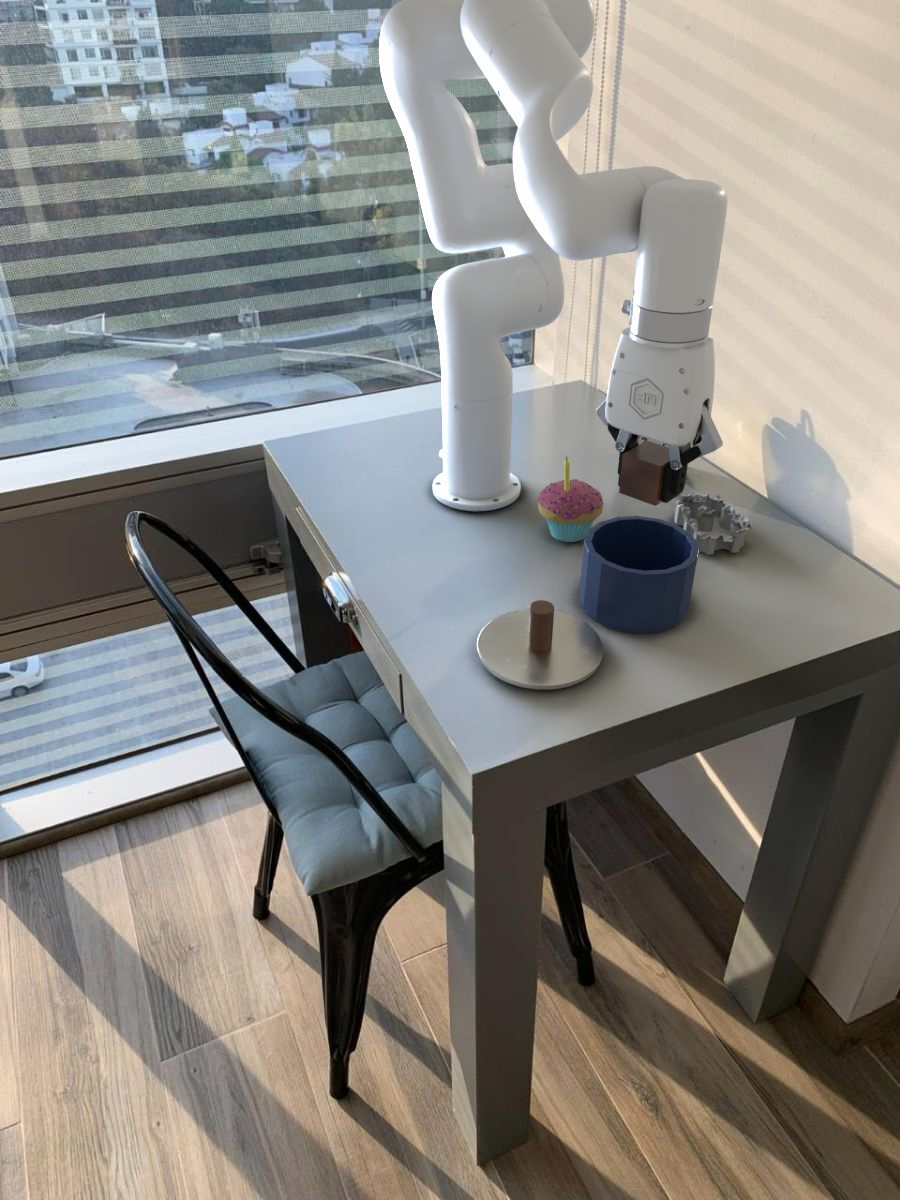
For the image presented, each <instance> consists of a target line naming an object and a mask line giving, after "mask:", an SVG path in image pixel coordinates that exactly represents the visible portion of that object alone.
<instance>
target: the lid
mask: <svg viewBox="0 0 900 1200" xmlns="http://www.w3.org/2000/svg"><path fill="white" fill-rule="evenodd" d="M476 652H477V656H478V659H479V661H480V663H481V664H482V666H483V667H484V668H485V669H486V670H487V671H488V672H489V673H490V674H491V675H493V676H494V677H496V678H497V679H499V680H501V681H503V682H505V683H507V684H510V685H513V686H515V687H520V688H524V689H530V690H538V691H539V690H540V691H543V690H544V691H547V690H558V689H564V688H568V687H572V686H574V685H577V684H580V683H582V682H583V681H585V680H587V679H589V678H590V677H591V676H592V675H594V673H595V672H596V671H597V670H598V669H599V667H600V665H601V663H602V660H603V655H604V646H603V642H602V640H601V637H600V635H599V634H598V633H597V631H596V630H595V629H594V628H593V627H592V626H591V625H590V624H589V623H587V622H586V621H584V620H582V619H581V618H579V617H577V616H574V615H572V614H569V613H567V612H564V611H561V610H560V611H559V610H555V606H554V604H553V603H552V602H550V601H549V600H543V599H539V600H534V601H533V602H531V603H530V605H529V608H524V609H517V610H512V611H508V612H506V613H504V614H501V615H498V616H496V617H495V618H493V619H491V620H490V621H489V622H487V624H485V625H484V627H483V628H482V629H481V631H480V633H479V635H478V637H477V641H476Z"/></svg>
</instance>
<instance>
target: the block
mask: <svg viewBox="0 0 900 1200" xmlns="http://www.w3.org/2000/svg"><path fill="white" fill-rule="evenodd" d="M668 466H670V459H669V449H668V446H666V445H663V444H659V443H657V442H653V441H650V440H645V441H643V442H641V443H640V444H639V445H638V446H636V447H634V448H633V449H631V450H629V451H627V452H626V453H624V454H623V459H622V469H621V479H620V486H619V491H618V493H619V494H622V495H624V496H627V497H629V498H631V499H635V500H638V501H640V502H643V503H646V504H648V505H652V506H655V507H657V506H659V504H661V503H663V502H662V501H661V492H662V485H663V477H664V470H665V468H666V467H668Z"/></svg>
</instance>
